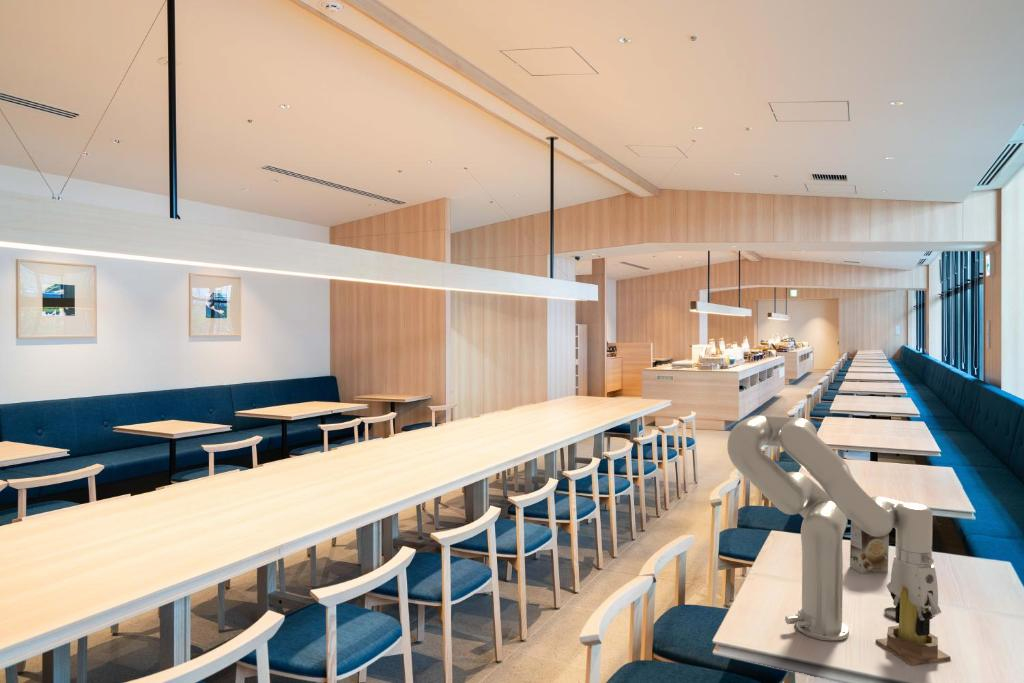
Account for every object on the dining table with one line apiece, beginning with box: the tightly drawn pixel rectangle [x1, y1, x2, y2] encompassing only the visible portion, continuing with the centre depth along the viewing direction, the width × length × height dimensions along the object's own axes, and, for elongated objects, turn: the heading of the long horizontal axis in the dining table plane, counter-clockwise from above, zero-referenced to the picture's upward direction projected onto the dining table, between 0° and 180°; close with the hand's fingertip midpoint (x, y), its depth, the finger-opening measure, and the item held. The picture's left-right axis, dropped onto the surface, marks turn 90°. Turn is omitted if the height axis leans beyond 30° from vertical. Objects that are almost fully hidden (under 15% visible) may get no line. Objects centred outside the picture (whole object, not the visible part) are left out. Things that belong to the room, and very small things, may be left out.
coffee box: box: [849, 520, 890, 574], centre depth 210 cm, size 9×6×16 cm
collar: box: [875, 624, 951, 667], centre depth 160 cm, size 11×11×4 cm
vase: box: [898, 585, 927, 645], centre depth 160 cm, size 6×6×14 cm
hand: (912, 627), depth 160 cm, fingers closed on vase, 5 cm apart
